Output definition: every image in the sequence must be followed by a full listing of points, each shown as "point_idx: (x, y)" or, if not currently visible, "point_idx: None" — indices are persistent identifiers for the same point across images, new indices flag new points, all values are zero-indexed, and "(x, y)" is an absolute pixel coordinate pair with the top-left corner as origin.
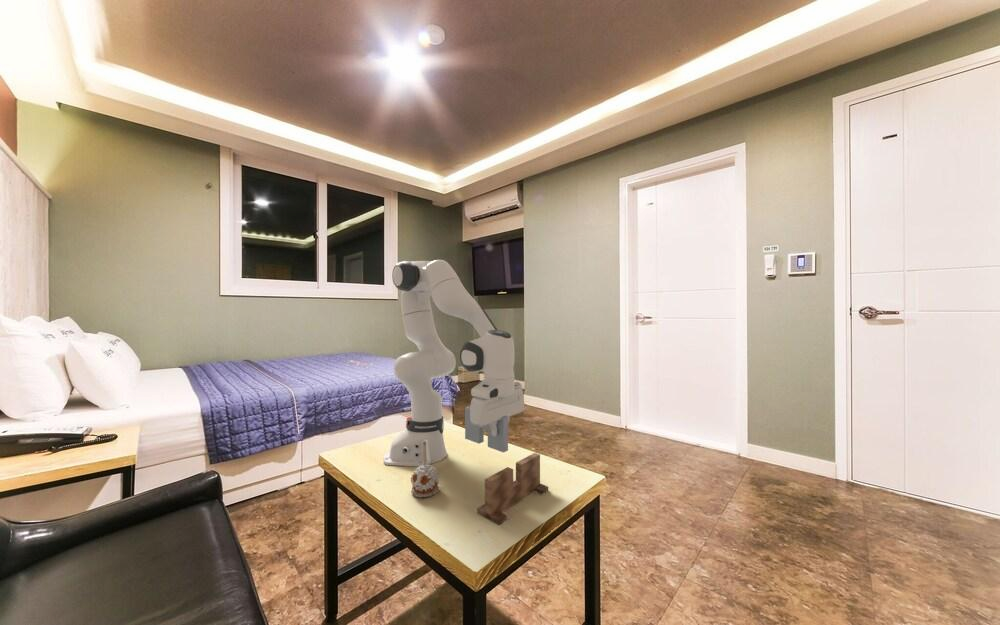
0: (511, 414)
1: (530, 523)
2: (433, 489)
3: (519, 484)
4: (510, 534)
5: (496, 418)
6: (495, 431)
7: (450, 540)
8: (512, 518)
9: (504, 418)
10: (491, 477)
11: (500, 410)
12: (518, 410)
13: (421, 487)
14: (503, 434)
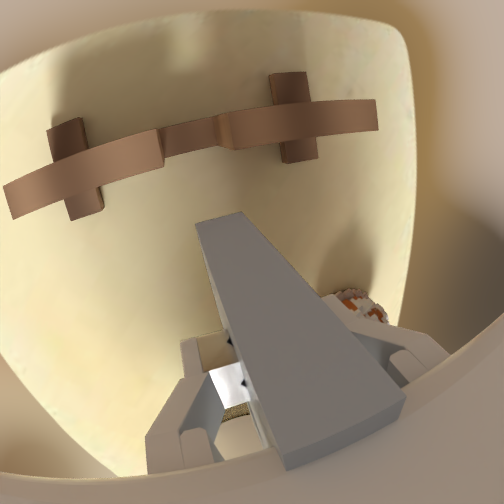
0: (136, 491)
1: (229, 22)
2: (345, 300)
3: (170, 126)
4: (302, 30)
5: (482, 367)
6: (350, 316)
7: (401, 117)
8: (253, 69)
9: (373, 396)
10: (354, 120)
11: (485, 482)
12: (3, 500)
13: (377, 304)
14: (288, 264)
